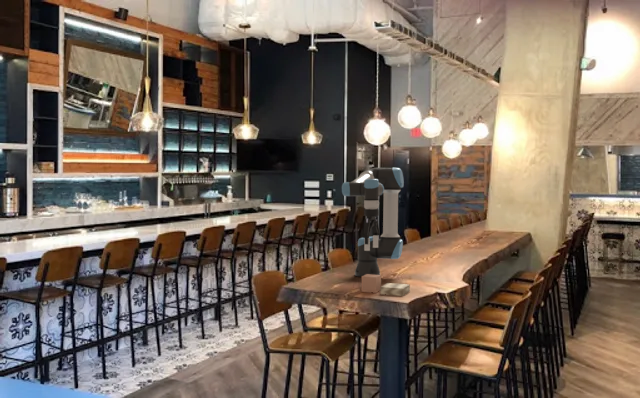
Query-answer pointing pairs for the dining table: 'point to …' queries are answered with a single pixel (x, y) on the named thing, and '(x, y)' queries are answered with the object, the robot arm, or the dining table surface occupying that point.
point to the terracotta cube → (371, 283)
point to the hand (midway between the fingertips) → (371, 249)
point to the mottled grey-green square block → (395, 289)
